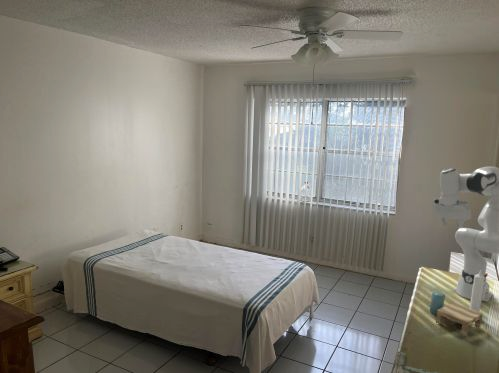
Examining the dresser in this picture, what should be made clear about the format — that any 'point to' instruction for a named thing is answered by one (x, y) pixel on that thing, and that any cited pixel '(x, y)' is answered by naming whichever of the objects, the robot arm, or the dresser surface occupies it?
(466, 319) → the small wooden stool
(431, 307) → the teal domed cylinder
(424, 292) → the dresser surface
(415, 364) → the dresser surface
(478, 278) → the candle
